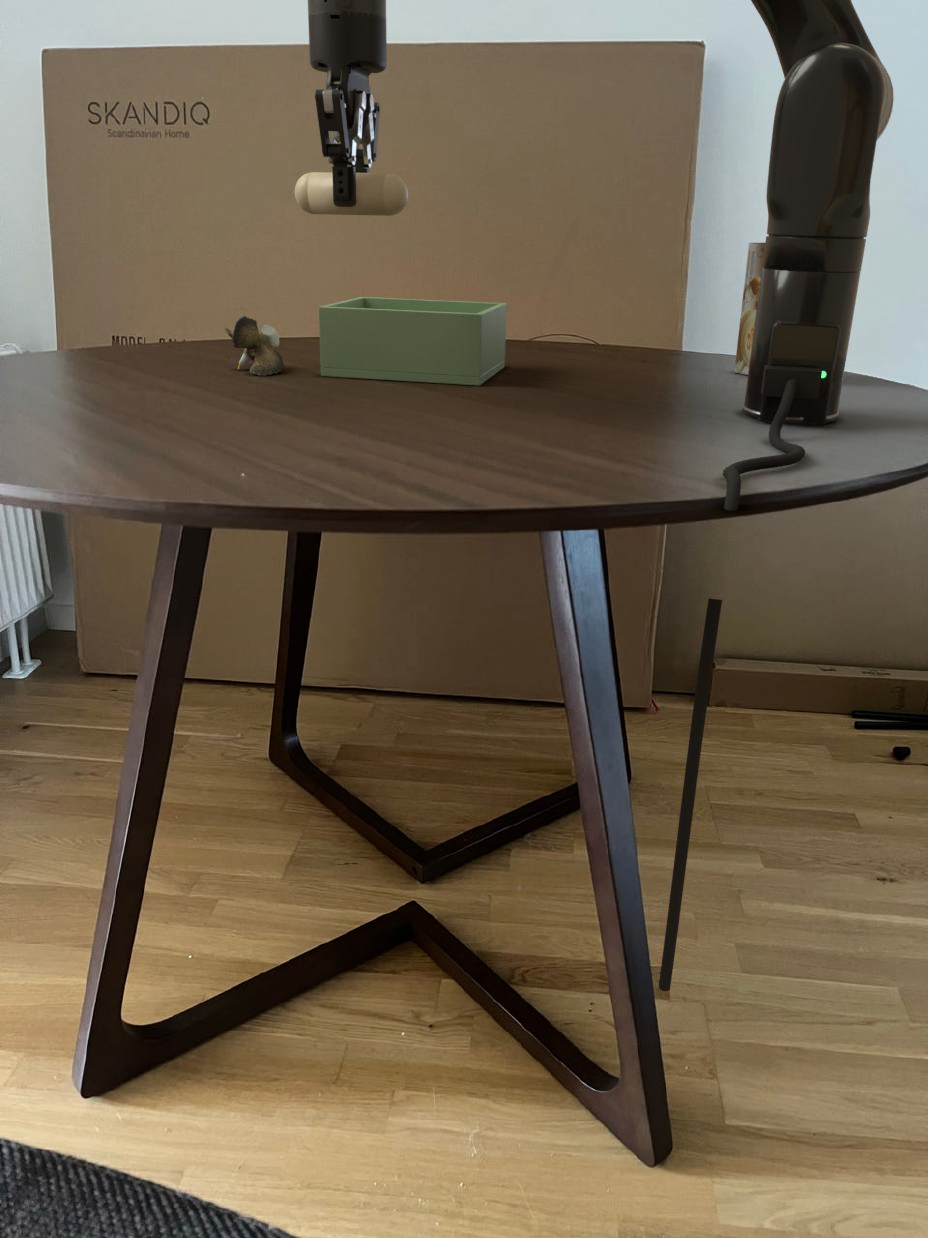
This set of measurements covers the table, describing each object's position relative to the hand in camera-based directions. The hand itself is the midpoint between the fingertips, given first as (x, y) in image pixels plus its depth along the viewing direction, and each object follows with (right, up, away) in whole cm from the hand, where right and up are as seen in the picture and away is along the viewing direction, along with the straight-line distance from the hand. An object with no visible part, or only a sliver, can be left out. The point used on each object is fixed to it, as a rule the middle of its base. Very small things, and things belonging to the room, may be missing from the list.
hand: (351, 205), depth 102 cm
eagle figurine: (-14, -12, +21) cm, 28 cm away
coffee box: (+51, -12, +25) cm, 58 cm away
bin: (+6, -12, +22) cm, 26 cm away
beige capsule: (0, -1, 0) cm, 1 cm away
